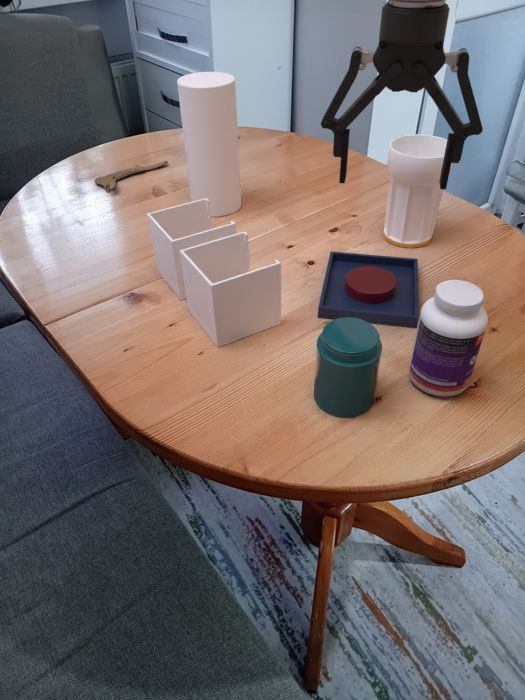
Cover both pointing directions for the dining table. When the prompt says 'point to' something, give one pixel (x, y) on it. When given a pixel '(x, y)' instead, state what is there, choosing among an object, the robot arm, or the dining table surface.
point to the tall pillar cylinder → (211, 139)
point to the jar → (347, 367)
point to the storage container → (214, 272)
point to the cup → (413, 189)
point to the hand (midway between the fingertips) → (391, 182)
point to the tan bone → (123, 175)
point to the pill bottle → (448, 338)
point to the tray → (390, 312)
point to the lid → (370, 284)
